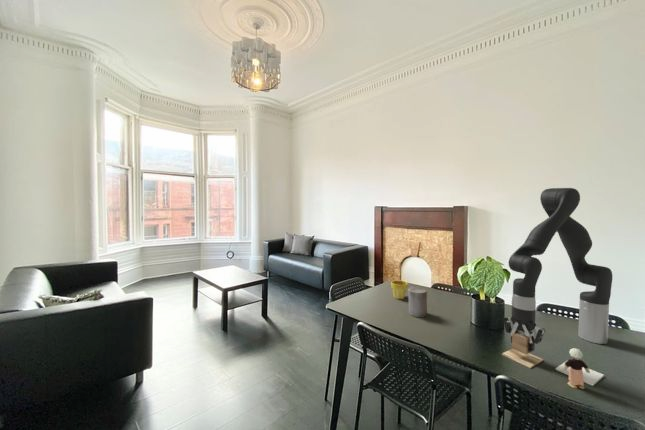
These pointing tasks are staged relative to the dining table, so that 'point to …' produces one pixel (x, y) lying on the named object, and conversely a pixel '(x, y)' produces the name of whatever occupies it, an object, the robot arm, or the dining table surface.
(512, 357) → the pad
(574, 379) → the grandmother figurine
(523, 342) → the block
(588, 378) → the pad
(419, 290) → the pillar candle
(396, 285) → the plant pot
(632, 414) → the dining table surface
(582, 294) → the robot arm
